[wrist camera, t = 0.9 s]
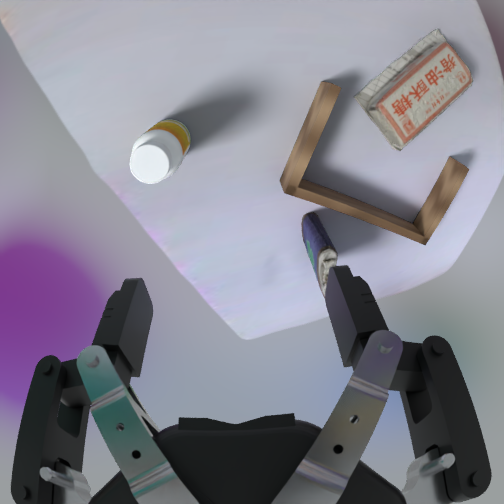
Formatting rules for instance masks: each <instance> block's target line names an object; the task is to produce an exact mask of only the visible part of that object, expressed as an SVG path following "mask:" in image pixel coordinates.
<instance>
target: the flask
mask: <svg viewBox="0 0 504 504" xmlns="http://www.w3.org/2000/svg"><path fill="white" fill-rule="evenodd" d="M302 236H303V240H304V243H305V246H306V249H307V253H308V256H309V258H310V260H311V263H312V265H313V269H314V271H315V274H316V278H317V280H318V283H319V286H320V289H321V291H322V293H323V296H324V298H325V291H326V285H327V280H328V273H329V268H330V267H332V266H336V263H337V252H336V250H335V248H334V246H333V244H332V242H331V240H330V239H329V237H328V235H327V233H326V231H325V229H324V227H323V225H322V224H321V222H320V220H319V218H318V215H317V214H315V213H314V212H313V213H312V212H311V213H307V214H305V215H304V216H303V218H302Z"/></svg>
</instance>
